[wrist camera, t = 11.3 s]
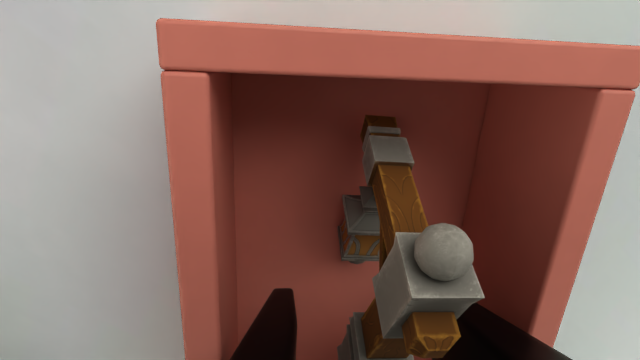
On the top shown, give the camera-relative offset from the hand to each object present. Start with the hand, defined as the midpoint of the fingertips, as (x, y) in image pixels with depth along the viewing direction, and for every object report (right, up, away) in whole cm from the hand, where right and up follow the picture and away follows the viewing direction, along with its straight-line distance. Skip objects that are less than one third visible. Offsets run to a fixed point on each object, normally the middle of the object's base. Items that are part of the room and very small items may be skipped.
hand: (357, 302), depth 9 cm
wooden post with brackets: (0, 0, +1) cm, 1 cm away
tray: (0, +1, +2) cm, 2 cm away
